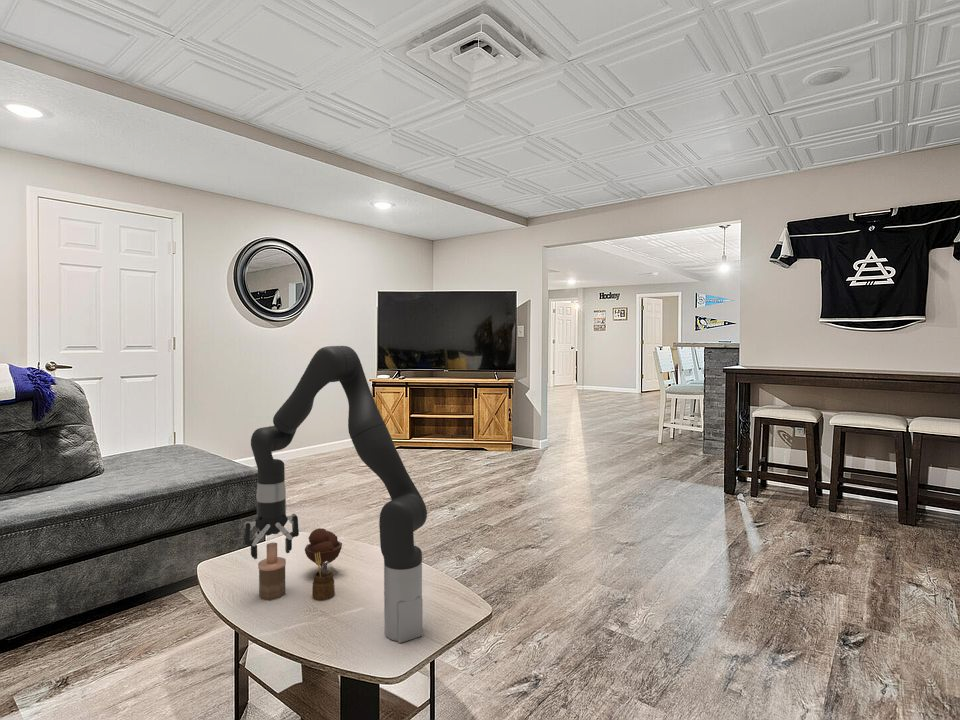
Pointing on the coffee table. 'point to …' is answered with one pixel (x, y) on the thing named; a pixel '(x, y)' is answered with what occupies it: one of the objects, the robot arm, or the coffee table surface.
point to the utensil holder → (323, 582)
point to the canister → (272, 584)
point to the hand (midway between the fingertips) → (271, 555)
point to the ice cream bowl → (323, 546)
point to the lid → (271, 559)
